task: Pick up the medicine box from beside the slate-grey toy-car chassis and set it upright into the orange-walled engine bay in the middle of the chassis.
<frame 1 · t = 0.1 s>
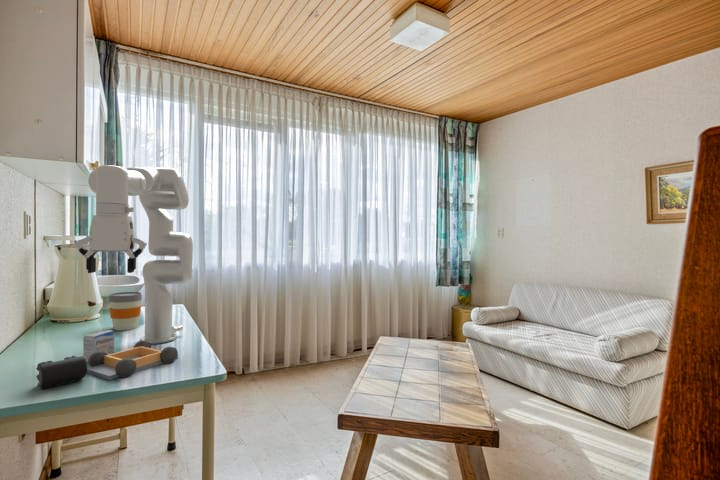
hand: (111, 272, 105), 31 cm above the table, tool pointing down, fingers open, 9 cm apart
medicine box: (99, 359, 126), on the table
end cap: (61, 384, 105), on the table
chassis: (134, 365, 120), on the table
reusable coffee cup: (125, 328, 167), on the table
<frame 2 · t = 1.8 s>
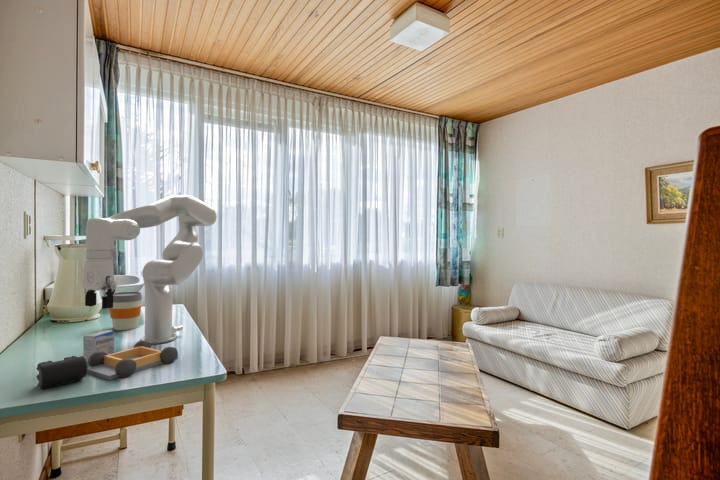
hand: (98, 306, 125), 17 cm above the table, tool pointing down, fingers open, 9 cm apart
nothing on the table moved.
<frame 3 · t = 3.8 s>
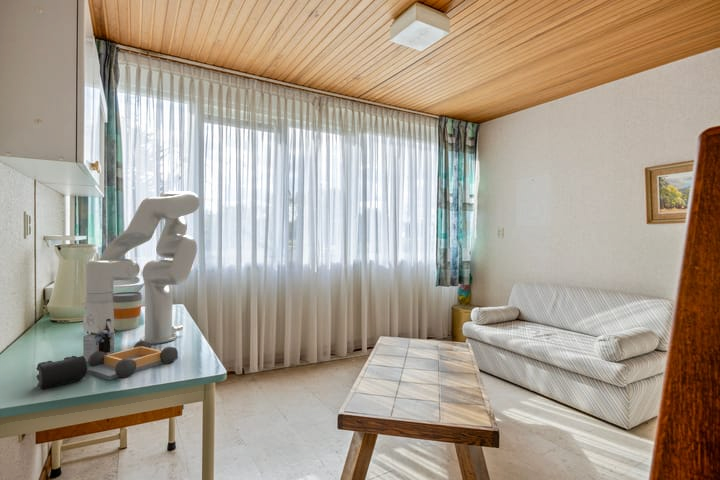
hand: (99, 351, 126), 3 cm above the table, tool pointing down, fingers closed on medicine box, 5 cm apart
medicine box: (99, 359, 126), on the table, touching gripper
everything else where it was.
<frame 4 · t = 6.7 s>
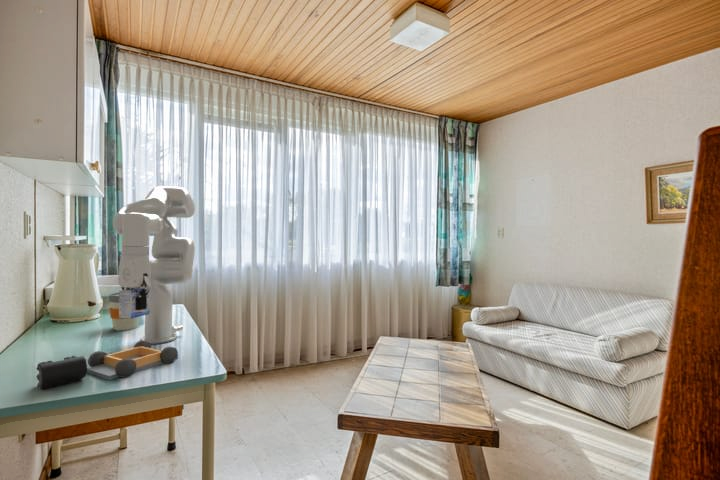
hand: (135, 307, 120), 18 cm above the table, tool pointing down, fingers closed on medicine box, 5 cm apart
medicine box: (134, 316, 120), point 16 cm above the table, touching gripper
everything else where it was.
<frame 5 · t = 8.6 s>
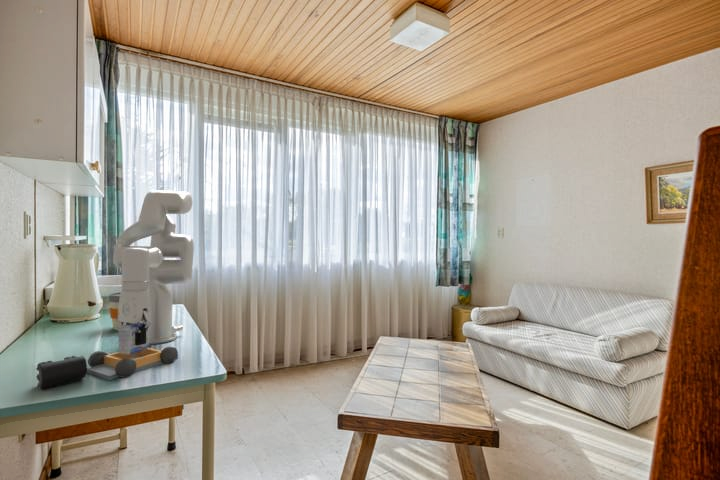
hand: (134, 342, 120), 7 cm above the table, tool pointing down, fingers closed on medicine box, 5 cm apart
medicine box: (134, 351, 120), point 4 cm above the table, touching gripper
everything else where it was.
when the fingers open (5 cm above the table, at t = 10.0 s): medicine box drops 1 cm, resting on chassis.
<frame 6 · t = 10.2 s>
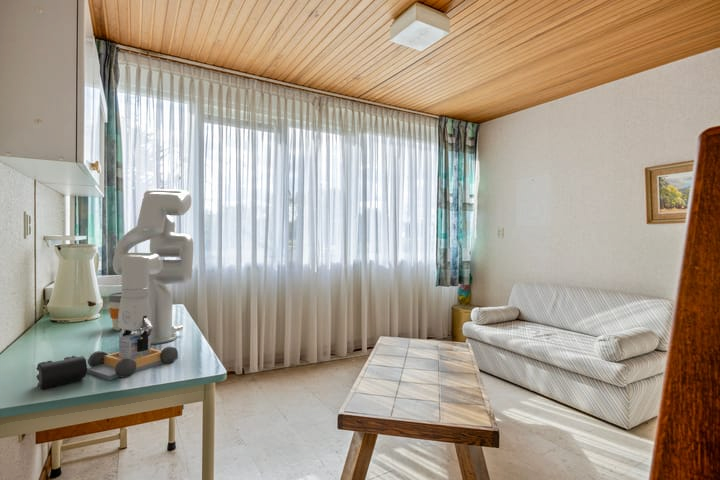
hand: (134, 348, 120), 5 cm above the table, tool pointing down, fingers open, 7 cm apart
medicine box: (134, 361, 120), point 1 cm above the table, touching chassis
everything else where it was.
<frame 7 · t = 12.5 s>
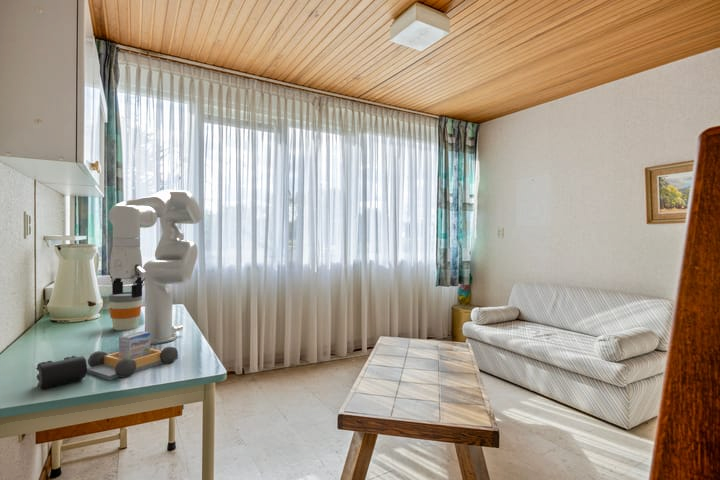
hand: (127, 295, 123), 22 cm above the table, tool pointing down, fingers open, 9 cm apart
nothing on the table moved.
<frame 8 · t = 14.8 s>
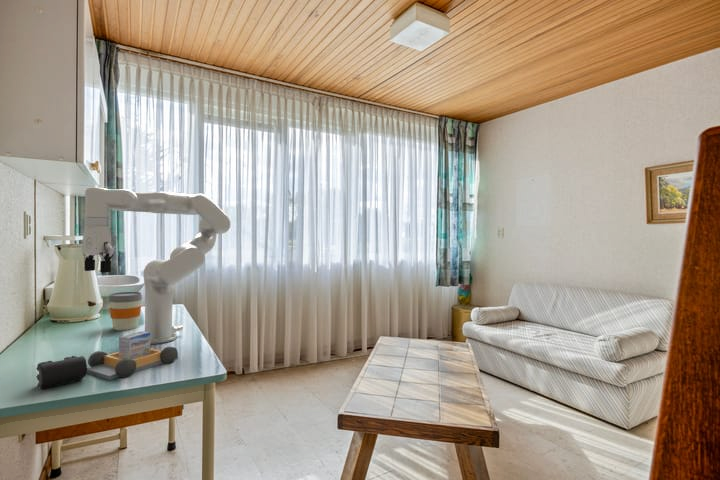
hand: (97, 271, 133), 28 cm above the table, tool pointing down, fingers open, 9 cm apart
nothing on the table moved.
at the end: medicine box 0.1 cm off-centre on the chassis, point 1.0 cm above the chassis's base; medicine box tilted 0°; the gripper is holding nothing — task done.
